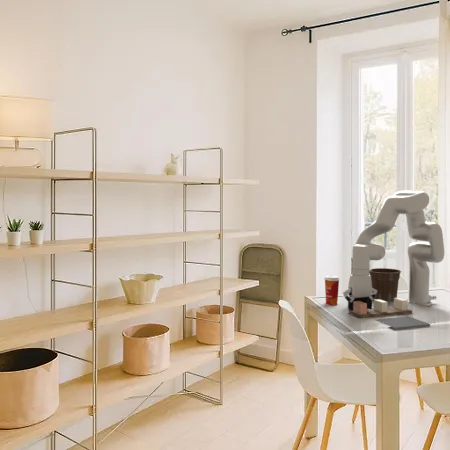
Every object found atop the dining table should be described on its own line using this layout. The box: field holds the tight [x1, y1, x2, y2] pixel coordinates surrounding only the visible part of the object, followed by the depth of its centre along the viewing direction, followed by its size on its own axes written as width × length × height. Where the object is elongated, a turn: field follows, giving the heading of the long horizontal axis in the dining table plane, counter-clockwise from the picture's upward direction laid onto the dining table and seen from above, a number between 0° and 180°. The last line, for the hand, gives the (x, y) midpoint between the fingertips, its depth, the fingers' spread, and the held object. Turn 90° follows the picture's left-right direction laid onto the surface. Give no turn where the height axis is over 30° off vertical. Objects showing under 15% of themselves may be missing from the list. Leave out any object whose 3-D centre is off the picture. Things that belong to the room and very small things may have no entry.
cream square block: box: [393, 297, 409, 311], centre depth 233 cm, size 3×6×6 cm, turn 18°
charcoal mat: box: [374, 315, 431, 331], centre depth 216 cm, size 18×14×1 cm
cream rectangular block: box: [373, 299, 389, 312], centre depth 230 cm, size 3×6×6 cm, turn 19°
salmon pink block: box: [353, 301, 367, 314], centre depth 226 cm, size 3×6×6 cm, turn 18°
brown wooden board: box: [348, 305, 413, 320], centre depth 230 cm, size 28×9×3 cm, turn 109°
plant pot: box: [369, 267, 402, 303], centre depth 261 cm, size 16×16×16 cm
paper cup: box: [324, 275, 340, 306], centre depth 253 cm, size 8×8×14 cm
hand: (360, 309), depth 226 cm, fingers open, 9 cm apart
